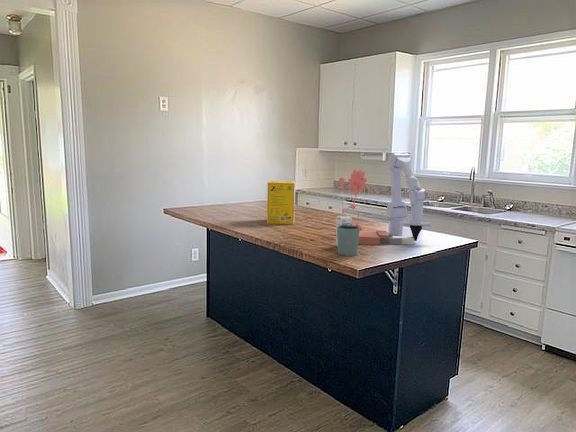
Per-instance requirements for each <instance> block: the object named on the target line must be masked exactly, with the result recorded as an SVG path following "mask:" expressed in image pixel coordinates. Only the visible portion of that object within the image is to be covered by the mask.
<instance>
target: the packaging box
mask: <svg viewBox="0 0 576 432" xmlns="http://www.w3.org/2000/svg"><path fill="white" fill-rule="evenodd" d="M266 184H267V189H266V191H267V194H266V195H267V198H266V199H267V200H266V201H267V202H266V224H267V225H268V224H269V225H294V224H295V207H296V206H295V204H296V199H295V198H296V181H291V180H269V181H268V182H267V183H266Z"/></svg>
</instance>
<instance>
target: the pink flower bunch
mask: <svg viewBox="0 0 576 432" xmlns="http://www.w3.org/2000/svg"><path fill="white" fill-rule="evenodd" d="M365 175H366V173H365V172H364V171H362V169H359V170H358V171H357V170H356V169H353V171H352V173H351V174H350V178H348V179H347V180H348V181H347V182H348V183H349V184H350V185H349V186H350V189H344V185H346V180H345V178H344V177H343V176H342V177H340V178H339V179H338V184H339V186H340V187H341V190H342V191H341V192H351V193H352V194H353V195H355V197H354V199H353V201H354V202H353V203H352V204H350V207H348V208H346V209H343V212H342V213H343V216H346V215H345V211H347V210H348V209H352V210H354V209H355V210H356V212H357V219H359V215H360V212H359V210H358V209H357V207H356V205H355V203H356V199H357V196H358V194H359V193H361V192H362V191H363V189H365V188H366V189H367V190H368V191H369V192H370V193H371V194H374V192H373V190H372V189H371V188H370V187H369V186H368V185H367V184H366V183H367V182H368V180H367V178H366V177H365ZM354 226H358V227H360V231H364V230H363V229H362V227H361V226H360V225H359V221H357V223H355V225H354Z"/></svg>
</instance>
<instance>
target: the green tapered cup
mask: <svg viewBox="0 0 576 432" xmlns="http://www.w3.org/2000/svg"><path fill="white" fill-rule="evenodd" d="M360 227H361V226H360ZM360 227H358V226H356V225H352V226H351V225H341V226H337V240H338V246H337V254H339V255H341V256H347V257H352V256H353V257H354V256H357V255H358V253H359V251H358V250H359V243H358V242H359V232H360Z"/></svg>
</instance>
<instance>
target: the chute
mask: <svg viewBox="0 0 576 432" xmlns="http://www.w3.org/2000/svg"><path fill="white" fill-rule="evenodd" d="M392 238H402V244H401V245H415V241H414V238H413V236H406V235H404V236H392Z"/></svg>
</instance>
